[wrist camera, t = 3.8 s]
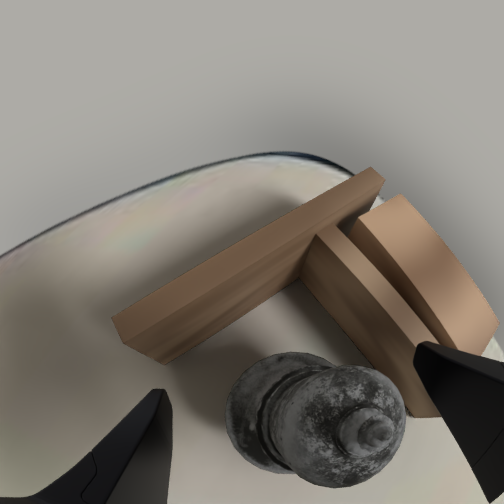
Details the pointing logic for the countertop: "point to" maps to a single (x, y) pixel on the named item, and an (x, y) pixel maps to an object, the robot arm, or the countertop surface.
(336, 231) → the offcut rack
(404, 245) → the teak offcut
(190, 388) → the countertop surface
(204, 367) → the countertop surface
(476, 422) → the robot arm
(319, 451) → the grey rounded upright piece
